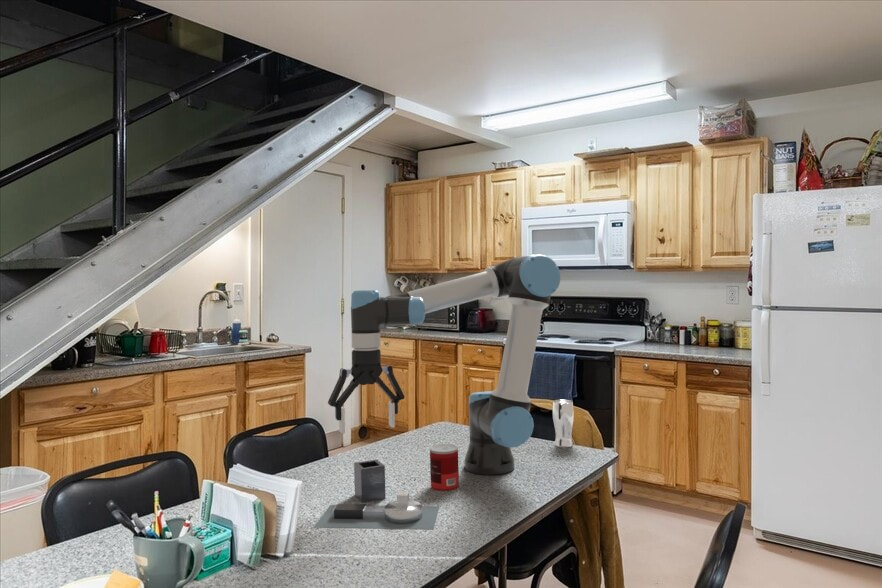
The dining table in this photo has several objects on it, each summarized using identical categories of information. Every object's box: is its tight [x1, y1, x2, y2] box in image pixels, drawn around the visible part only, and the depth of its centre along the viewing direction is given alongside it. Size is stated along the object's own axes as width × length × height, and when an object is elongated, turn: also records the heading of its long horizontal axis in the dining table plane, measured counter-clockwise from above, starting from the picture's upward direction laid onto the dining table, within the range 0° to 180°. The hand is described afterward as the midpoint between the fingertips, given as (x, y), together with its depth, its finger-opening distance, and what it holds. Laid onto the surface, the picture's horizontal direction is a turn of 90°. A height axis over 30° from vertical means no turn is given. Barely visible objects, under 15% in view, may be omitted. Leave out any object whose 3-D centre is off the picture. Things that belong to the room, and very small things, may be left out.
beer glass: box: [552, 399, 575, 449], centre depth 202 cm, size 7×7×15 cm
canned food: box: [429, 443, 460, 492], centre depth 163 cm, size 8×8×11 cm
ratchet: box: [332, 491, 423, 524], centre depth 143 cm, size 22×9×6 cm, turn 85°
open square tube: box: [353, 459, 386, 504], centre depth 156 cm, size 6×6×9 cm
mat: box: [312, 504, 440, 531], centre depth 143 cm, size 28×14×1 cm, turn 84°
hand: (367, 429), depth 156 cm, fingers open, 13 cm apart
